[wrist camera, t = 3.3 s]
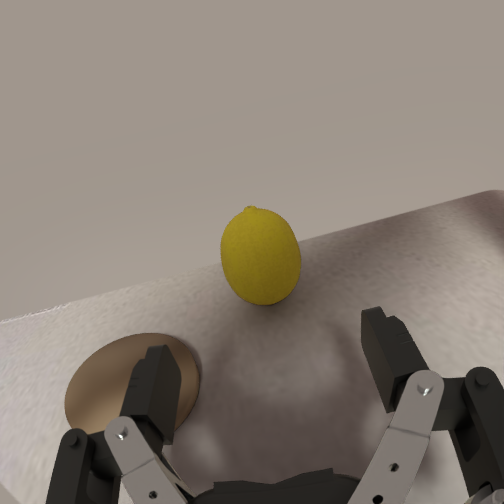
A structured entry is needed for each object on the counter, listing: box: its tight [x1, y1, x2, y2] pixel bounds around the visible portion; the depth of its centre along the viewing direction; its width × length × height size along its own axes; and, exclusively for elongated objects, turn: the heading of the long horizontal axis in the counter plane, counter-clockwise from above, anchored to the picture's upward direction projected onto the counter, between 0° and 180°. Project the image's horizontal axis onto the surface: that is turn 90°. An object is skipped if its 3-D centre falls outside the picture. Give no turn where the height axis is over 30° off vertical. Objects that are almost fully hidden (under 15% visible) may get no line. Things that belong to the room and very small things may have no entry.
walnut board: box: [65, 333, 200, 434], centre depth 19 cm, size 10×10×1 cm
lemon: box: [221, 206, 301, 305], centre depth 23 cm, size 6×6×8 cm
